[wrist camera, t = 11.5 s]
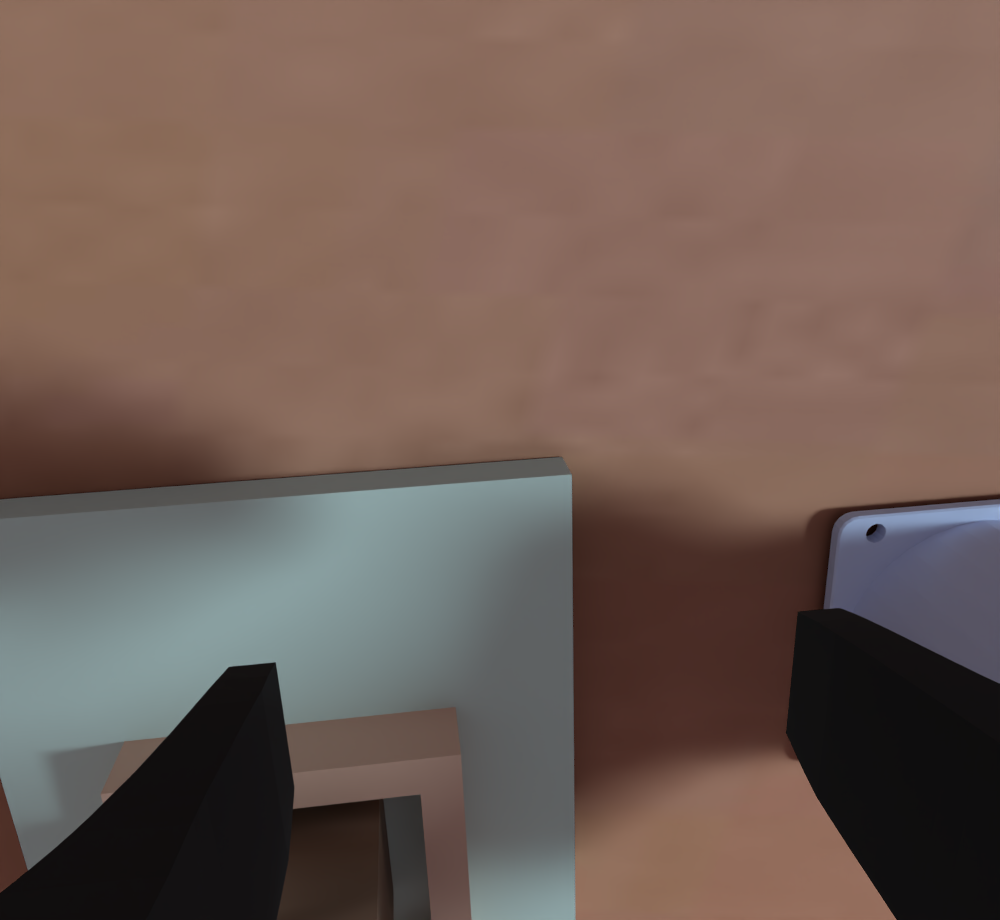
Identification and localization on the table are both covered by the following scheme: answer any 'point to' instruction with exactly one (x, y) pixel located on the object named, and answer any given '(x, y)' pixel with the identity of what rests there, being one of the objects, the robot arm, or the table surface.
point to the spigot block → (338, 864)
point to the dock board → (315, 658)
